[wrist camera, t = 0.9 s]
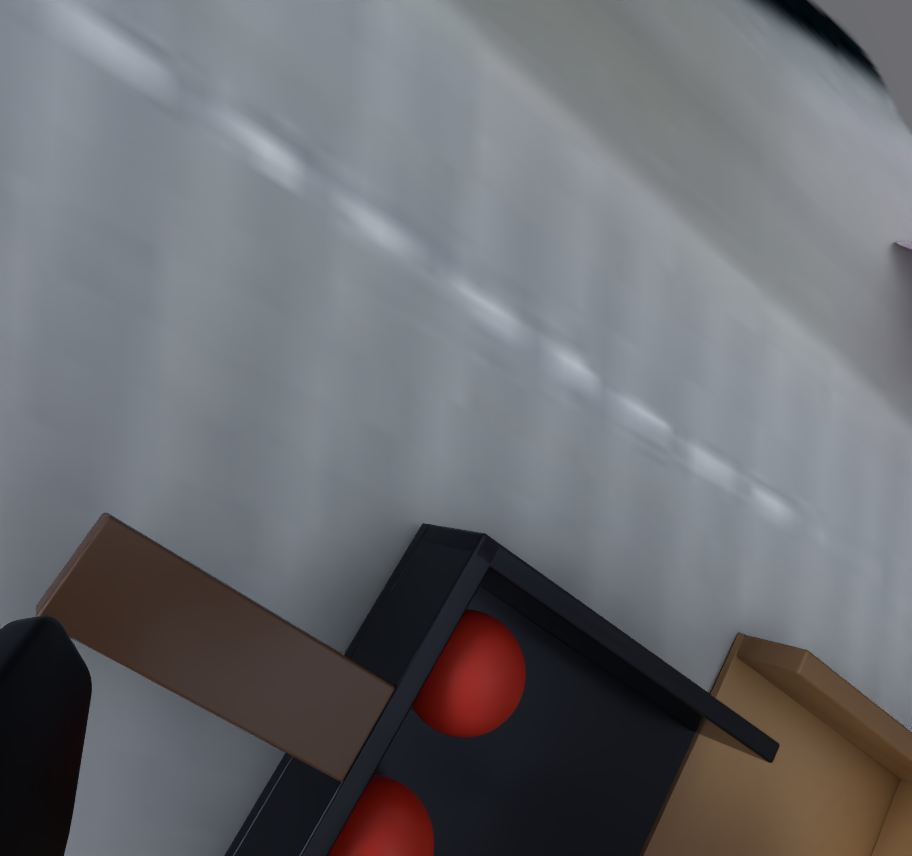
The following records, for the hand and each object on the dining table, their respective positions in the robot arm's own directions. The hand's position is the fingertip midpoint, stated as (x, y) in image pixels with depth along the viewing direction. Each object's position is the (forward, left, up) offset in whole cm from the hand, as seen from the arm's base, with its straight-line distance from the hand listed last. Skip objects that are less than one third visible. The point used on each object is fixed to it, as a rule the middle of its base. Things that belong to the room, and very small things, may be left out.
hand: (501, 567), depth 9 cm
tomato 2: (0, -7, -11) cm, 13 cm away
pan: (-3, -7, -13) cm, 15 cm away
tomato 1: (-5, -7, -11) cm, 14 cm away
